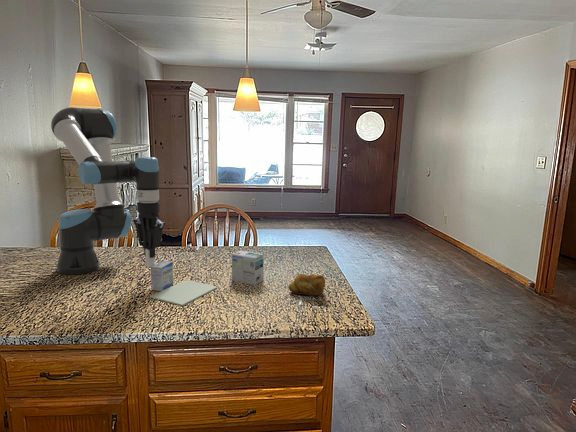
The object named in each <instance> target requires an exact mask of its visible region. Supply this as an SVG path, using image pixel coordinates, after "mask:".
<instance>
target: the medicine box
mask: <svg viewBox="0 0 576 432" xmlns="http://www.w3.org/2000/svg"><path fill="white" fill-rule="evenodd" d="M150 282H151V283H150V285H151V286H150V287H151V291H156V292H160V291H162V290H165V289H167V288H169V287H172V286H173V285H174V263H173V261H170V260H169V261H167V260H162V261H160V262H158V263H156V264H154V265H153V266H151V267H150Z"/></svg>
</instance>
